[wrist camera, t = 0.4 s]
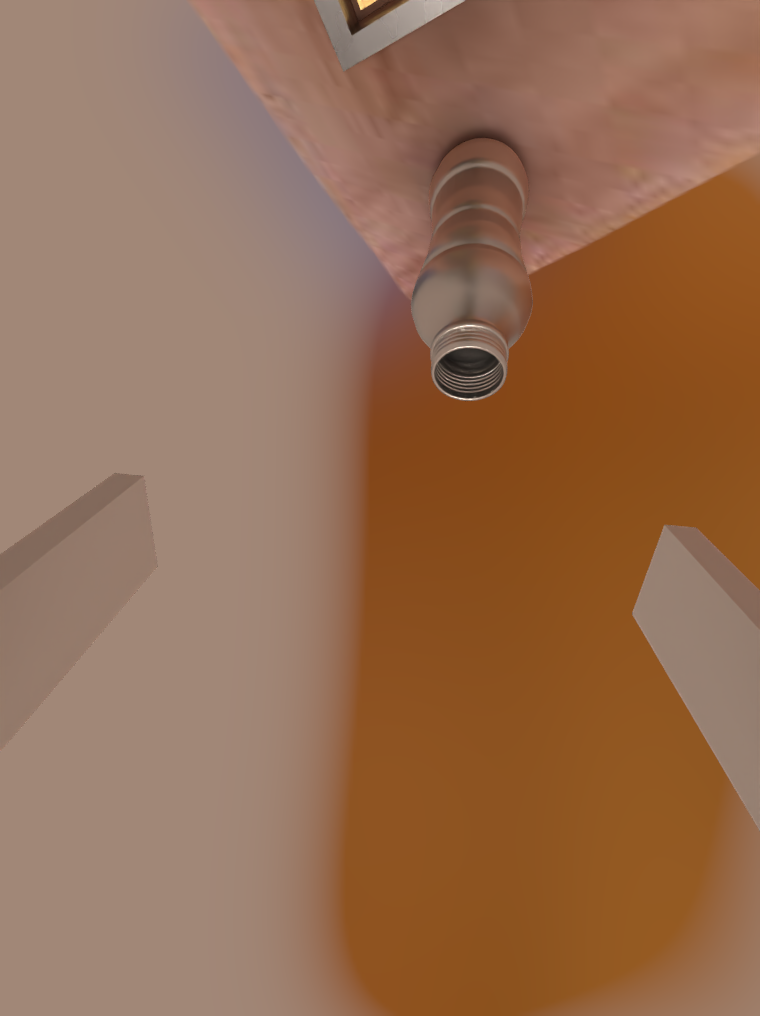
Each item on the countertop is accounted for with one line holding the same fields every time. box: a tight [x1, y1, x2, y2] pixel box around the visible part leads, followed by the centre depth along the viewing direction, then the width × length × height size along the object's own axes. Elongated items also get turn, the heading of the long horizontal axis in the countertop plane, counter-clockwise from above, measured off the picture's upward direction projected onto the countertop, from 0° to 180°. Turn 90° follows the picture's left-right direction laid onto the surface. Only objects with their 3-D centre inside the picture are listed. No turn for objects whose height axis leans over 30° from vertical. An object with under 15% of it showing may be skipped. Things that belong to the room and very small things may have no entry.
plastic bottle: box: [411, 138, 533, 401], centre depth 30 cm, size 6×7×20 cm
